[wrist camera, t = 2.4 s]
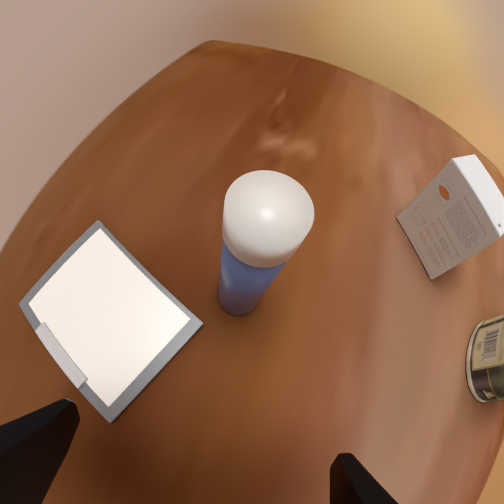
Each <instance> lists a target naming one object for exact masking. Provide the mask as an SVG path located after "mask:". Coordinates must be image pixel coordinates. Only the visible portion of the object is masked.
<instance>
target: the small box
mask: <svg viewBox="0 0 504 504" xmlns="http://www.w3.org/2000/svg"><path fill="white" fill-rule="evenodd" d="M397 220H398V221H399V223H400V224H401V226H402V228H403V229H404V231H405V233H406V235H407V236H408V238H409V240H410V242H411V243H412V245H413V247H414V249H415V251H416V252H417V254H418V256H419V258H420V260H421V262H422V264H423V265H424V267H425V269H426V271H427V273H428V275H429V277H430V279H431V280H433V279H435V278H436V277H438V276H440V275H442V274H443V273H445V272H447V271H448V270H450V269H452V268H453V267H455V266H457V265H458V264H460V263H462V262H463V261H465V260H467V259H468V258H470V257H471V256H473V255H475V254H476V253H478V252H480V251H481V250H483V249H484V248H486V247H487V246H489V245H490V244H492V243H493V242H495V241H496V240H498V239H499V238H500V237H501V236H502V235H503V234H504V197H503V196H502V194H501V192H500V191H499V189H498V187H497V186H496V184H495V183H494V181H493V179H492V178H491V176H490V175H489V173H488V172H487V171H486V169H485V168H484V166H483V165H482V163H481V162H480V160H479V159H478V158H477V156H476V155H475V154H473V155H468V156H463V157H457V158H452V159H451V160H450V161H449V162H448V163H447V164H446V165H445V166H444V168H443V169H442V170H441V171H440V172H439V173H438V174H437V175H436V176H435V177H434V178H433V180H432V181H431V182H430V183H429V184H428V185H427V186H426V187H425V188H424V189H423V190H422V191H421V192H420V193H419V194H418V195H417V196H416V197H415V198H414V199H413V200H412V201H411V203H410V204H409V205H408V206H407V207H406V208H405V209H404V210H403V211H402V212H401V213H400V214H399V215H398V216H397Z"/></svg>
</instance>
